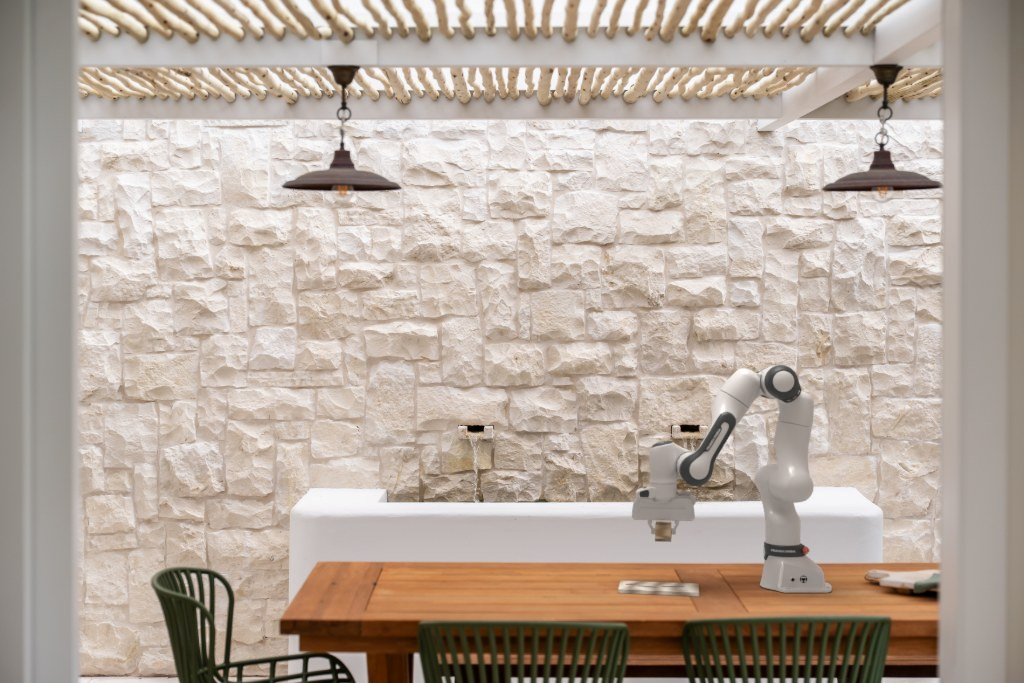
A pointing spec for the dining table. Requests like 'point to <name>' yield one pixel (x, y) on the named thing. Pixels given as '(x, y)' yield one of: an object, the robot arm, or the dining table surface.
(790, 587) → the robot arm
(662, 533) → the beige brown jar
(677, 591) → the plank
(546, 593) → the dining table surface
